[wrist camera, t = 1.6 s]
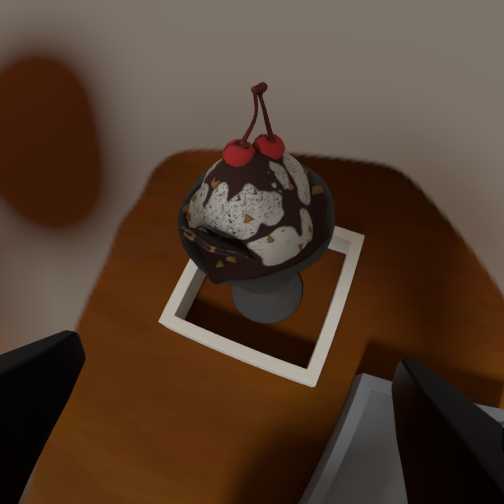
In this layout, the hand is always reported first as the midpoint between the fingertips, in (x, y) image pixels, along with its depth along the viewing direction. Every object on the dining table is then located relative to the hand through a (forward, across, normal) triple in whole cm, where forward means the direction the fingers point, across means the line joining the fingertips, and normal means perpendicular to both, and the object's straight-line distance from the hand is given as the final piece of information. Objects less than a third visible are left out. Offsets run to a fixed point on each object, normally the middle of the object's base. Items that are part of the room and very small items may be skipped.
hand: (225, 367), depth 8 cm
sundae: (+14, 0, +5) cm, 15 cm away
